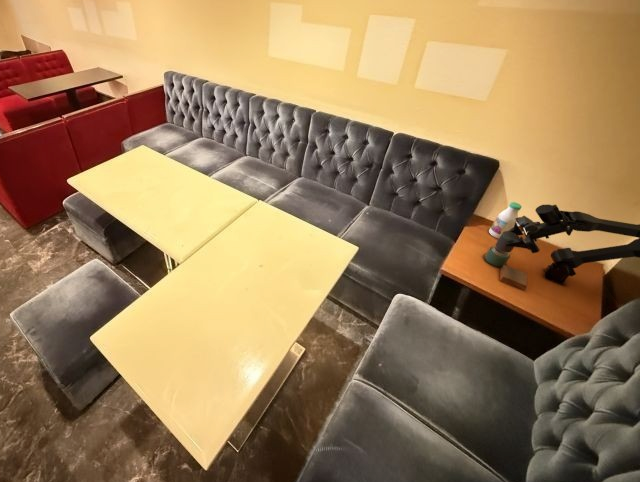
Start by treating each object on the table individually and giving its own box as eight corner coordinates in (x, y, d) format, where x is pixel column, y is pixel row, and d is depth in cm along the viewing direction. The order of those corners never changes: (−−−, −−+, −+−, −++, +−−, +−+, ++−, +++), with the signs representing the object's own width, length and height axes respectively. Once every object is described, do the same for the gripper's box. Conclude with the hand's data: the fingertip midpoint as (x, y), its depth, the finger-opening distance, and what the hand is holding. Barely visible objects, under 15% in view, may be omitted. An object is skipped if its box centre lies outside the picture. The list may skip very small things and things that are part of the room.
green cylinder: (504, 259, 151) (512, 248, 146) (504, 270, 145) (512, 259, 141) (484, 252, 155) (491, 241, 150) (483, 262, 149) (490, 251, 145)
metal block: (523, 277, 142) (526, 273, 140) (523, 290, 136) (527, 285, 135) (500, 268, 146) (503, 264, 144) (499, 280, 140) (503, 276, 139)
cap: (514, 249, 144) (523, 237, 139) (506, 254, 141) (514, 242, 137) (500, 241, 148) (507, 229, 144) (492, 245, 146) (499, 233, 142)
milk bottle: (502, 230, 168) (521, 201, 156) (508, 240, 161) (529, 210, 150) (486, 228, 169) (504, 198, 158) (491, 237, 163) (510, 207, 152)
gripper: (531, 202, 139) (490, 215, 149) (545, 228, 125) (499, 240, 135) (543, 221, 140) (502, 232, 150) (558, 248, 126) (512, 259, 136)
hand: (503, 240), depth 143 cm, fingers closed on cap, 6 cm apart
